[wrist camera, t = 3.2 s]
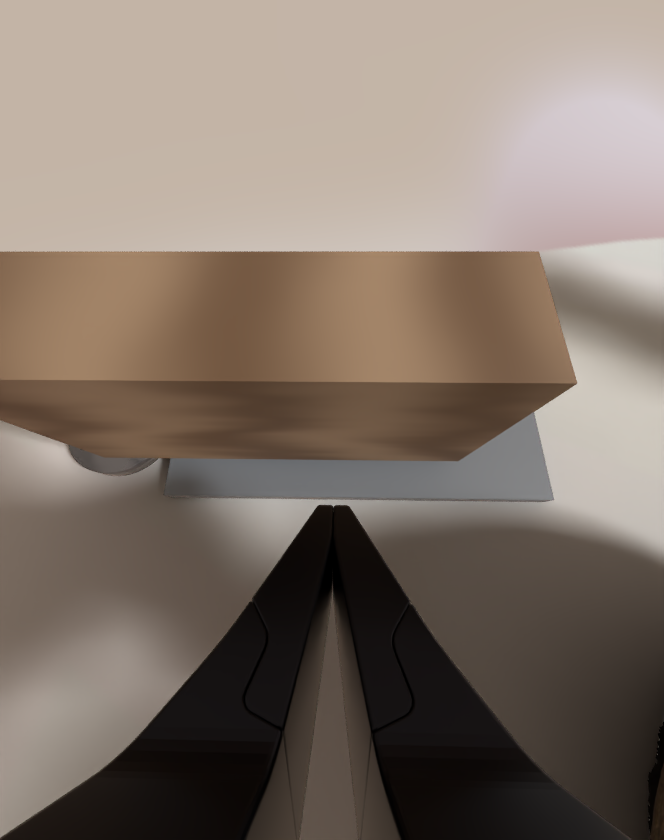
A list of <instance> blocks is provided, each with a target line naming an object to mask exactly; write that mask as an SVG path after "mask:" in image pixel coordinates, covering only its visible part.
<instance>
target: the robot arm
mask: <svg viewBox="0 0 664 840" xmlns="http://www.w3.org/2000/svg"><path fill="white" fill-rule="evenodd" d="M332 584H333V600H334V610H335V620H336V629H337V639H338V649H339V658H340V668H341V678H342V687H343V697H344V707H345V716H346V726H347V736H348V745H349V755H350V765H351V774H352V784H353V794H354V803H355V813H356V823H357V832H358V840H632V839H631V838H630V837H628V836H627V835H626V834H624V833H623V832H622V831H620V830H619V829H618V828H616V827H615V826H614V825H612V824H611V823H610V822H608V821H607V820H606V819H604V818H603V817H602V816H600V815H599V814H597V813H596V812H595V811H593V810H592V809H591V808H589V807H588V806H587V805H585V804H584V803H583V802H581V801H580V800H579V799H577V798H576V797H575V796H573V795H572V794H571V793H569V792H568V791H567V790H566V789H564V788H563V787H562V786H561V785H559V784H558V783H557V782H556V781H555V780H554V779H552V778H551V777H550V776H549V775H548V774H547V773H546V772H545V771H544V770H543V769H542V768H541V767H540V766H539V765H538V764H537V763H536V762H534V761H533V759H532V758H531V757H530V756H529V755H528V754H527V753H526V752H525V751H524V750H523V749H522V747H521V746H520V745H519V744H518V743H517V741H516V740H515V739H514V738H513V736H512V735H511V734H510V733H509V732H508V730H507V729H506V728H505V727H504V725H503V724H502V723H501V722H500V720H499V719H498V718H497V717H496V715H495V714H494V713H493V712H492V710H491V709H490V708H489V707H488V705H487V704H486V703H485V702H484V700H483V699H482V698H481V697H480V695H479V694H478V693H477V692H476V690H475V689H474V688H473V687H472V685H471V684H470V683H469V682H468V680H467V679H466V678H465V677H464V675H463V674H462V673H461V672H460V670H459V669H458V668H457V667H456V665H455V664H454V663H453V661H452V660H451V659H450V657H449V656H448V655H447V654H446V652H445V651H444V650H443V648H442V647H441V646H440V644H439V643H438V642H437V640H436V639H435V637H434V636H433V634H432V633H431V632H430V630H429V629H428V627H427V626H426V624H425V623H424V621H423V620H422V618H421V617H420V615H419V614H418V612H417V611H416V609H415V607H414V606H413V605H412V604H411V602H410V600H409V598H408V597H407V595H406V594H405V592H404V591H403V589H402V587H401V586H400V584H399V583H398V581H397V580H396V578H395V577H394V575H393V573H392V572H391V570H390V569H389V567H388V566H387V564H386V563H385V561H384V560H383V558H382V556H381V555H380V553H379V552H378V550H377V549H376V547H375V546H374V544H373V542H372V541H371V539H370V538H369V536H368V535H367V533H366V532H365V530H364V528H363V527H362V525H361V524H360V522H359V521H358V519H357V518H356V516H355V514H354V513H353V511H352V510H351V508H350V507H349V506H347V505H335V506H334V510H333V506H332V505H319V506H317V508H316V509H315V510H314V512H313V513H312V515H311V516H310V517H309V519H308V520H307V522H306V523H305V525H304V526H303V527H302V529H301V530H300V532H299V533H298V534H297V536H296V537H295V539H294V540H293V542H292V543H291V544H290V546H289V547H288V549H287V550H286V551H285V553H284V554H283V556H282V557H281V558H280V560H279V561H278V563H277V564H276V566H275V567H274V568H273V570H272V571H271V573H270V574H269V575H268V577H267V578H266V580H265V581H264V582H263V584H262V585H261V587H260V588H259V590H258V591H257V592H256V594H255V595H254V597H253V598H252V601H251V602H249V603H248V605H247V606H246V608H245V609H244V611H243V612H242V613H241V615H240V616H239V618H238V619H237V620H236V622H235V623H234V624H233V626H232V627H231V628H230V629H229V631H228V632H227V633H226V635H225V636H224V637H223V639H222V640H221V641H220V642H219V643H218V645H217V646H216V647H215V648H214V649H213V651H212V652H211V653H210V654H209V655H208V657H207V658H206V659H205V660H204V661H203V663H202V664H201V665H200V666H199V667H198V668H197V669H196V671H195V672H194V673H193V674H192V675H191V676H190V677H189V679H188V680H187V681H186V682H185V683H184V684H183V685H182V687H181V688H180V689H179V690H178V691H177V692H176V693H175V695H174V696H173V697H172V698H171V699H170V700H169V702H168V703H167V704H166V705H165V706H164V707H163V708H162V710H161V711H160V712H159V713H158V714H157V715H156V716H155V718H154V719H153V720H152V721H151V722H150V723H149V724H148V726H147V727H146V728H145V729H144V730H143V731H142V732H141V733H140V734H139V736H138V737H137V738H136V739H135V740H134V741H133V742H132V743H131V744H130V745H129V746H128V747H127V748H126V749H125V750H124V751H123V752H121V753H120V754H119V755H118V756H117V757H116V758H115V759H114V760H112V761H111V762H110V763H109V764H108V765H106V766H105V767H104V768H103V769H101V770H100V771H99V772H98V773H96V774H95V775H93V776H92V777H90V778H89V779H87V780H86V781H84V782H83V783H81V784H80V785H78V786H77V787H75V788H74V789H73V790H71V791H70V792H68V793H67V794H65V795H64V796H62V797H61V798H59V799H58V800H56V801H55V802H53V803H52V804H50V805H49V806H47V807H46V808H44V809H43V810H41V811H40V812H38V813H37V814H35V815H34V816H32V817H31V818H29V819H28V820H26V821H25V822H23V823H22V824H20V825H19V826H17V827H16V828H14V829H13V830H11V831H10V832H8V833H7V834H5V835H4V836H2V837H1V838H0V840H299V837H300V829H301V822H302V815H303V807H304V800H305V792H306V785H307V777H308V770H309V762H310V755H311V748H312V740H313V733H314V725H315V718H316V710H317V703H318V695H319V688H320V681H321V673H322V666H323V658H324V651H325V643H326V636H327V628H328V621H329V614H330V606H331V598H332Z"/></svg>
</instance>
